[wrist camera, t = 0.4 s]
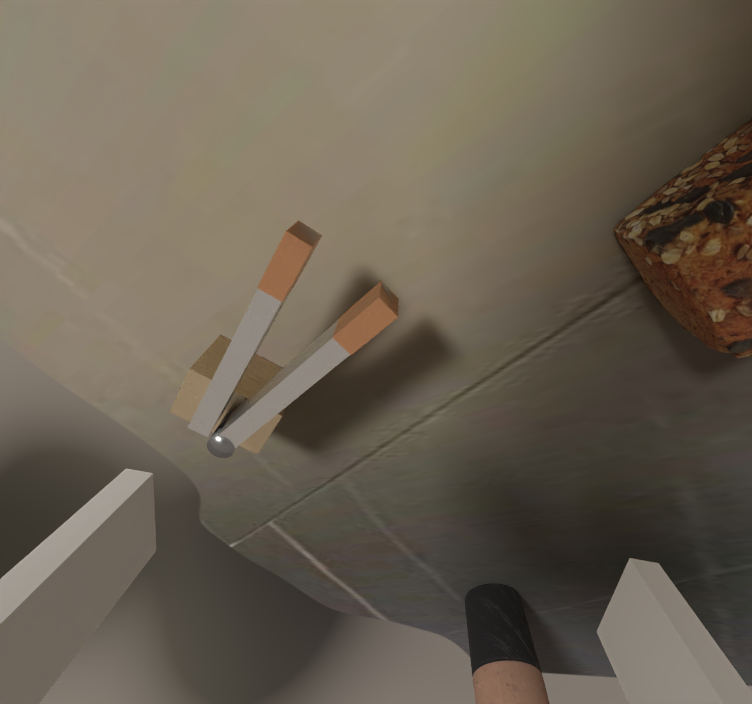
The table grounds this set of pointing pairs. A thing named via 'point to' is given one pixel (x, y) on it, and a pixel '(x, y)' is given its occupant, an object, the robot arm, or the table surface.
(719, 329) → the bread
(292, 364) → the tong arm
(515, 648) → the travel mug
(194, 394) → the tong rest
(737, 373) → the table surface
